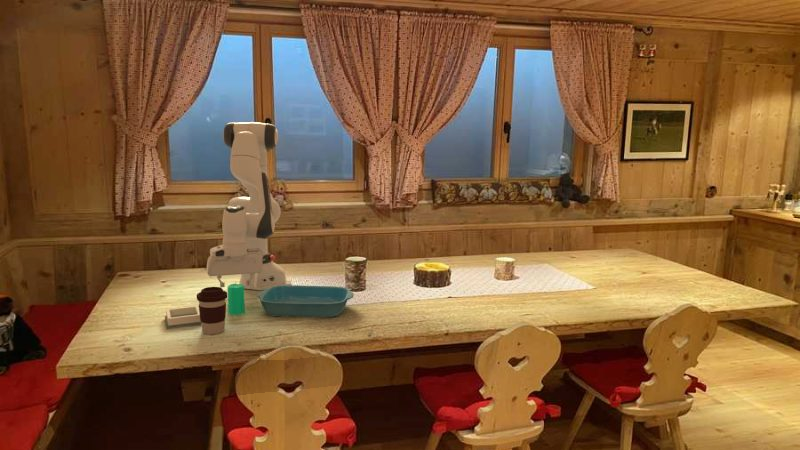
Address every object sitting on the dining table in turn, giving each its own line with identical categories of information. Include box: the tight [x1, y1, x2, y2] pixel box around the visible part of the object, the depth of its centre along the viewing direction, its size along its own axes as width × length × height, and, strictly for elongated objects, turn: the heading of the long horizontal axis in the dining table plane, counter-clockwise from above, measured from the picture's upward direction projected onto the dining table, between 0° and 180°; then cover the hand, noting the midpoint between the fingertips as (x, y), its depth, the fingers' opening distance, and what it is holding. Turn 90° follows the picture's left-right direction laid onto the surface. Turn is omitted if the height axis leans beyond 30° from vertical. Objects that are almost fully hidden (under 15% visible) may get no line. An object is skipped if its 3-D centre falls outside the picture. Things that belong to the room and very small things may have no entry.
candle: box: [227, 283, 246, 316], centre depth 213 cm, size 6×6×12 cm
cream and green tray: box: [164, 305, 202, 329], centre depth 204 cm, size 15×11×4 cm
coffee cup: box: [196, 286, 228, 335], centre depth 193 cm, size 10×10×15 cm
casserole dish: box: [256, 284, 354, 318], centre depth 218 cm, size 37×22×7 cm, turn 88°
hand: (235, 285), depth 212 cm, fingers open, 8 cm apart
